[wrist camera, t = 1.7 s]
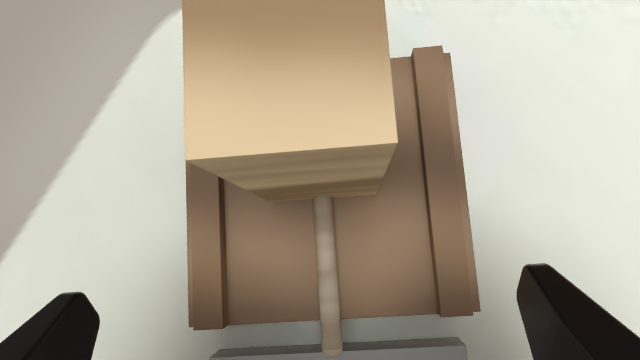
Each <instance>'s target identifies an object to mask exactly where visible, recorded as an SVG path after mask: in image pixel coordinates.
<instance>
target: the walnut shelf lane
mask: <svg viewBox="0 0 640 360" xmlns="http://www.w3.org/2000/svg"><path fill="white" fill-rule="evenodd" d="M390 65H391V76H392V86H393V96H394V107H395V117H396V128H397V138H398V144H397V146H396V148H395V151H394V153H393V155H392V158H391V160H390V163H389V165H388V167H387V170H386V172H385V174H384V177H383V179H382V181H381V184H380V186H379V188H378V191H377V193H376V195H363V196H350V197H336V198H332V206H333V220H334V234H335V249H336V263H337V277H338V291H339V306H340V319H350V318H369V317H387V316H406V315H424V314H438V315H440V316H441V317H453V316H472V315H473V312H479V311H480V302H479V294H478V286H477V277H476V269H475V260H474V252H473V243H472V235H471V226H470V218H469V209H468V201H467V192H466V184H465V176H464V167H463V159H462V150H461V142H460V133H459V125H458V116H457V108H456V99H455V91H454V82H453V74H452V66H451V57H450V53H443V49H442V46H433V47H422V48H413V51H412V55H411V57H401V58H390ZM186 199H187V254H188V308H189V327H193V330H210V329H223V328H225V327H226V326H228V325H239V324H258V323H276V322H295V321H313V320H320V304H319V289H318V273H317V257H316V241H315V226H314V210H313V199H309V200H296V201H282V202H270V201H267V200H265V199H263V198H261V197H259V196H257V195H255V194H253V193H251V192H249V191H247V190H245V189H243V188H241V187H239V186H237V185H235V184H233V183H231V182H229V181H227V180H225V179H223V178H221V177H219V176H216V175H214V174H212V173H210V172H208V171H206V170H204V169H202V168H200V167H198V166H196V165H194V164H192V163H190V162H188V161H186Z"/></svg>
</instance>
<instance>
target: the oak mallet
mask: <svg viewBox="0 0 640 360" xmlns="http://www.w3.org/2000/svg"><path fill="white" fill-rule="evenodd" d="M182 14H183V69H184V123H185V160H186V161H188V162H190V163H192V164H194V165H196V166H198V167H200V168H202V169H204V170H206V171H208V172H210V173H212V174H214V175H216V176H219V177H221V178H223V179H225V180H227V181H229V182H231V183H233V184H235V185H237V186H239V187H241V188H243V189H245V190H247V191H249V192H251V193H253V194H255V195H257V196H259V197H261V198H263V199H265V200H267V201H270V202H282V201H296V200H309V199H313V210H314V226H315V241H316V257H317V273H318V289H319V304H320V320H321V336H322V350H323V353H324V354H325V356H327V357H328V358H332V359H333V358H337V357H338V356H339V355H340V354H341V352H342V334H341V320H340V306H339V291H338V277H337V263H336V249H335V234H334V220H333V206H332V198H336V197H350V196H363V195H376V193H377V191H378V188H379V186H380V184H381V181H382V179H383V177H384V174H385V172H386V170H387V167H388V165H389V163H390V160H391V158H392V155H393V153H394V151H395V148H396V146H397V144H398V138H397V128H396V117H395V107H394V96H393V86H392V76H391V65H390V55H389V44H388V34H387V23H386V13H385V2H384V0H182Z"/></svg>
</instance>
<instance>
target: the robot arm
mask: <svg viewBox="0 0 640 360" xmlns="http://www.w3.org/2000/svg"><path fill="white" fill-rule="evenodd" d="M517 302H518V306H519V310H520V313H521V317H522V320H523V324H524V327H525V331H526V334H527V338H528V341H529V345H530V349H531V352H532V356H533V359H534V360H640V338H639V337H638V336H637V335H636V334H634V333H633V332H632V331H631V330H630V329H628V328H627V327H626V326H625V325H623V324H622V323H621V322H620V321H618V320H617V319H616V318H615V317H613V316H612V315H611V314H610V313H608V312H607V311H606V310H605V309H603V308H602V307H601V306H600V305H598V304H597V303H596V302H595V301H593V300H592V299H591V298H590V297H589V296H587V295H586V294H585V293H584V292H582V291H581V290H580V289H579V288H577V287H576V286H575V285H574V284H572V283H571V282H570V281H569V280H567V279H566V278H565V277H564V276H562V275H561V274H560V273H559V272H557V271H556V270H555V269H554V268H552V267H551V266H550V265H548V264H543V263H541V264H528V265H525V266H524V267H523V270H522V273H521V277H520V281H519V285H518V288H517ZM99 325H100V319H99V315H98V313H97V312H96V310H95V309H94V307H93V306H92V304H91V303H90V301H89V300H88V298H87V297H86V295H85V294H84V293H82V292H68V293H62V294H60V295H58V296H57V297H56V298H54V299H53V300H52V301H51V302H50V303H48V304H47V305H46V306H45V307H44V308H42V309H41V310H40V311H39V312H37V313H36V314H35V315H34V316H33V317H31V318H30V319H29V320H28V321H27V322H25V323H24V324H23V325H22V326H21V327H19V328H18V329H17V330H16V331H14V332H13V333H12V334H11V335H10V336H8V337H7V338H6V339H5V340H4V341H2V342H1V343H0V360H91V358H92V354H93V350H94V346H95V342H96V338H97V334H98V330H99Z"/></svg>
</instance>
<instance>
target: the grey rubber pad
mask: <svg viewBox="0 0 640 360" xmlns="http://www.w3.org/2000/svg"><path fill="white" fill-rule="evenodd" d="M209 360H467V351H466V345H465V344H464V343H463V342H462V341H461V340H460V339H458V338H440V339H420V340H400V341H380V342H360V343H342V352H341V354H340V355H339V356H338V357H337V358H333V359H332V358H328V357H327V356H325V354H324V353H323V350H322V344H320V345H300V346H280V347H260V348H240V349H220V350H219V351H218V352H216V353H215V354H214V355H212V356H211V357H210V358H209Z"/></svg>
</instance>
